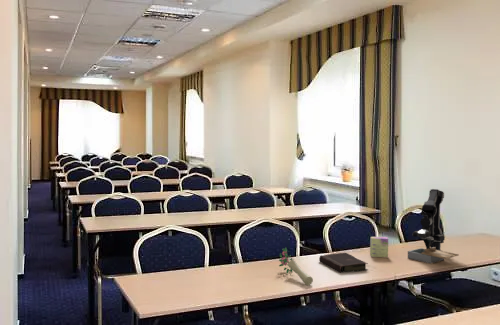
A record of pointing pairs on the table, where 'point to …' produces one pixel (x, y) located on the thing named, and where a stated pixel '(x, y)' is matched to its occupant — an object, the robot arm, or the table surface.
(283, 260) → the flower vase
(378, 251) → the box
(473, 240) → the table surface
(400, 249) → the table surface
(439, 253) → the lid
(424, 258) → the base
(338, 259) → the diary
